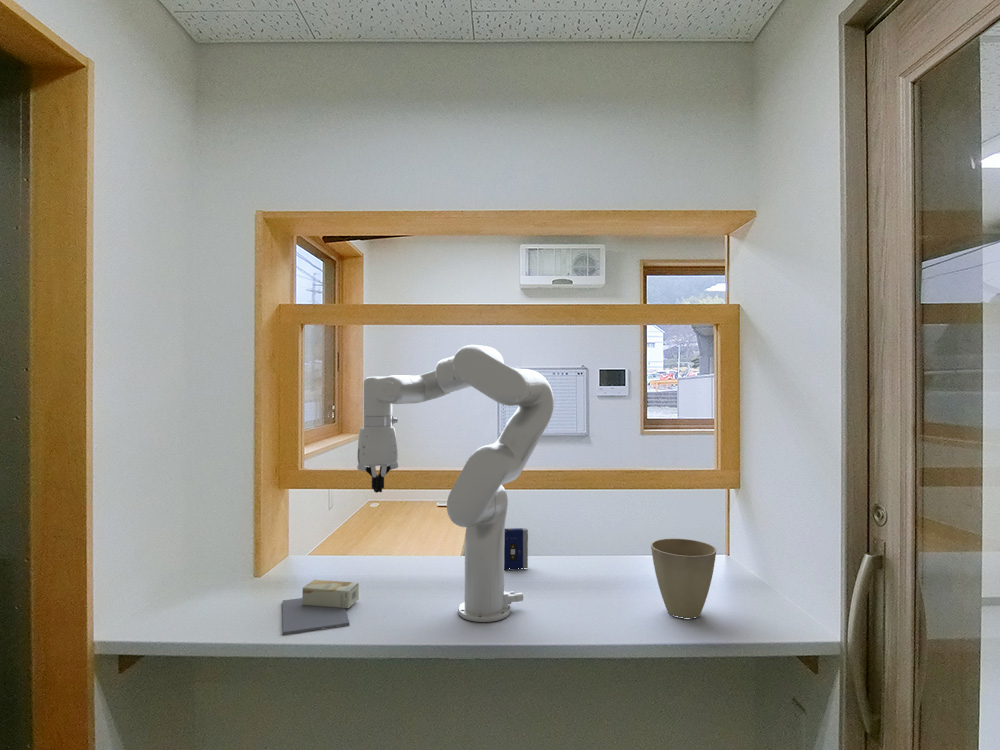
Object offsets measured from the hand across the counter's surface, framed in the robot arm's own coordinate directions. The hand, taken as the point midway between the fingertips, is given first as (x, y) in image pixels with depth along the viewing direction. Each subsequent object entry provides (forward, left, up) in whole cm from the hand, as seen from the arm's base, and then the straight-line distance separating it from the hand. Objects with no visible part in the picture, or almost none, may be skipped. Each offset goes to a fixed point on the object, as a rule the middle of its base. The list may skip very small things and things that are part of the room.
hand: (377, 491), depth 151 cm
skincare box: (+7, +9, -24) cm, 26 cm away
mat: (+16, +10, -26) cm, 33 cm away
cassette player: (-42, -4, -27) cm, 49 cm away
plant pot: (-66, +42, -27) cm, 82 cm away
